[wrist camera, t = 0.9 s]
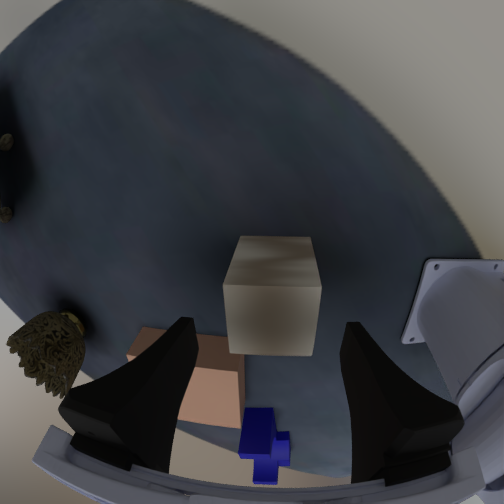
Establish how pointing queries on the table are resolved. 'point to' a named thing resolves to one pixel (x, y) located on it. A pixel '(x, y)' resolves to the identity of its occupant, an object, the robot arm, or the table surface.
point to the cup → (51, 349)
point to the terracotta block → (207, 380)
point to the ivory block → (272, 296)
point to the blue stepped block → (264, 445)
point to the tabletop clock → (5, 212)
